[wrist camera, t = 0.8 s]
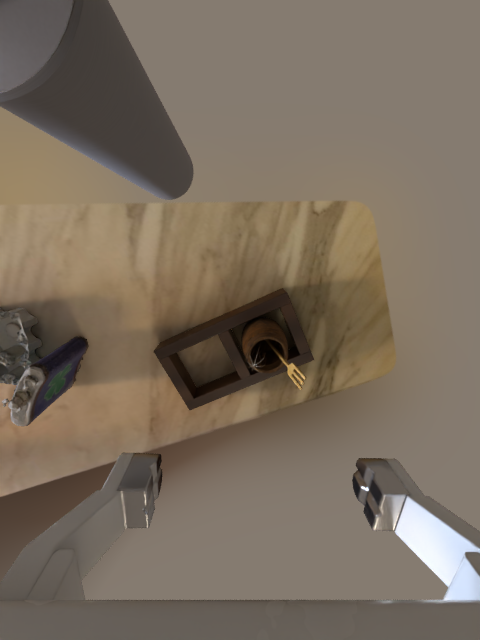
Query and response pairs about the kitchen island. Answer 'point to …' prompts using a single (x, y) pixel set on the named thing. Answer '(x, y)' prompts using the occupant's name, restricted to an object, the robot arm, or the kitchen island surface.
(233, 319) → the rack
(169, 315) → the kitchen island surface
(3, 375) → the egg carton
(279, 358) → the utensil holder
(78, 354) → the flask
